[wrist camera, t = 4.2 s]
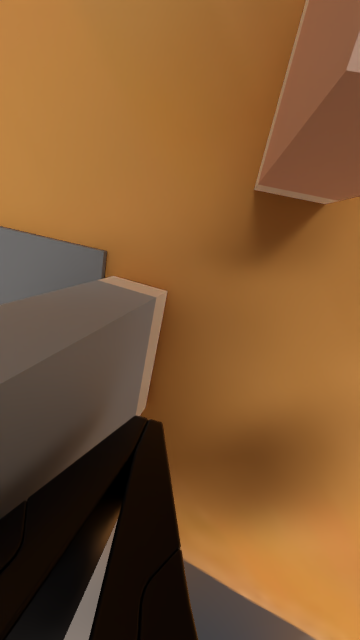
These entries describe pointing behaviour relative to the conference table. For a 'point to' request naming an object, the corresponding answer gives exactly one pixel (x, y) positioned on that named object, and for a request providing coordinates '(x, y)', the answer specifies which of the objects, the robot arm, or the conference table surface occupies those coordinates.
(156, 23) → the conference table surface
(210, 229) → the conference table surface
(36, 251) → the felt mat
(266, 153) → the terracotta block
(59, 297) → the blue-grey block
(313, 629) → the conference table surface
